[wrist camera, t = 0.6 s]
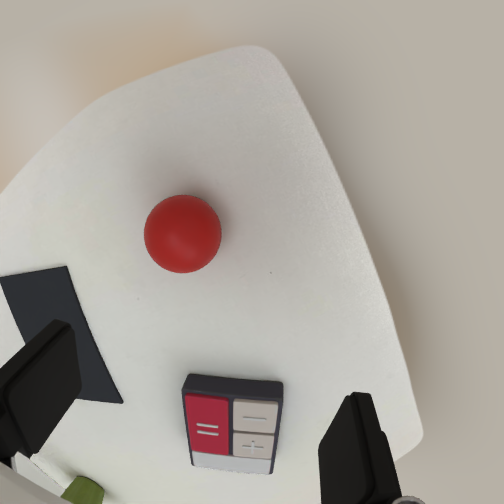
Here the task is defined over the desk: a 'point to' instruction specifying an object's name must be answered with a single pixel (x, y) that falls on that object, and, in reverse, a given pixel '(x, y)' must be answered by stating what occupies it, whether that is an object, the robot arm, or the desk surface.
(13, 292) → the side mat
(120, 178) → the desk surface
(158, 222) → the red ball
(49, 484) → the tissue box
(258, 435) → the calculator
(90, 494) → the plant pot
